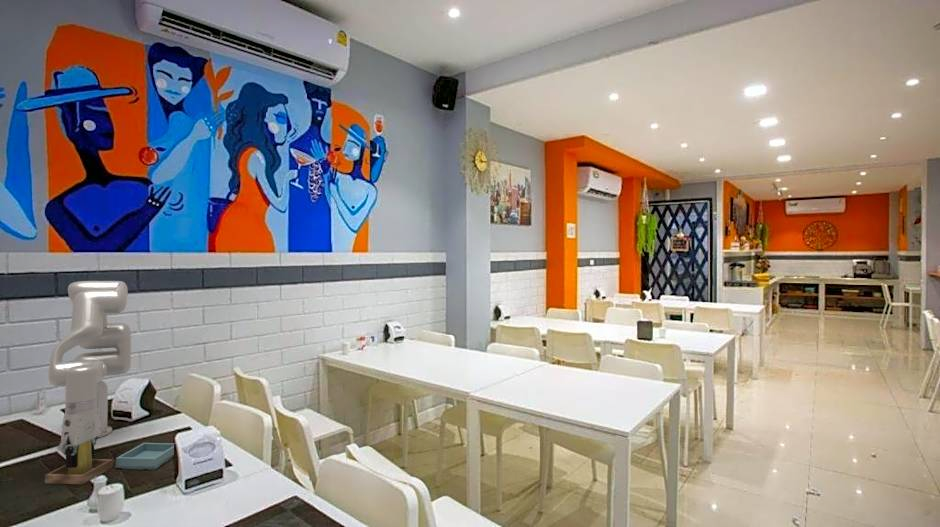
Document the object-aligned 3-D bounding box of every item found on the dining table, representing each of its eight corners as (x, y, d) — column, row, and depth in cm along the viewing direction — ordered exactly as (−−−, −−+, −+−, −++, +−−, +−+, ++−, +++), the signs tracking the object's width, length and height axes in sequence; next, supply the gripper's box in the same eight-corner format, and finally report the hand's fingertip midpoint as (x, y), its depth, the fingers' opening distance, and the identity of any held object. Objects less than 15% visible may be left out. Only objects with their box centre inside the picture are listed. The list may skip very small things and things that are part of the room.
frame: (44, 483, 141) (44, 475, 141) (77, 466, 152) (77, 458, 152) (82, 484, 140) (82, 476, 140) (112, 467, 152) (112, 459, 152)
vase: (78, 480, 143) (78, 434, 143) (62, 478, 144) (62, 432, 144) (97, 471, 149) (98, 427, 149) (82, 469, 150) (82, 425, 150)
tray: (115, 468, 151) (116, 458, 151) (143, 452, 164) (143, 442, 163) (154, 469, 151) (154, 459, 151) (179, 453, 163) (179, 443, 163)
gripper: (69, 414, 137) (68, 475, 138) (114, 397, 155) (113, 451, 155) (43, 414, 138) (43, 475, 138) (91, 397, 155) (90, 451, 155)
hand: (80, 462), depth 146 cm, fingers closed on vase, 5 cm apart
